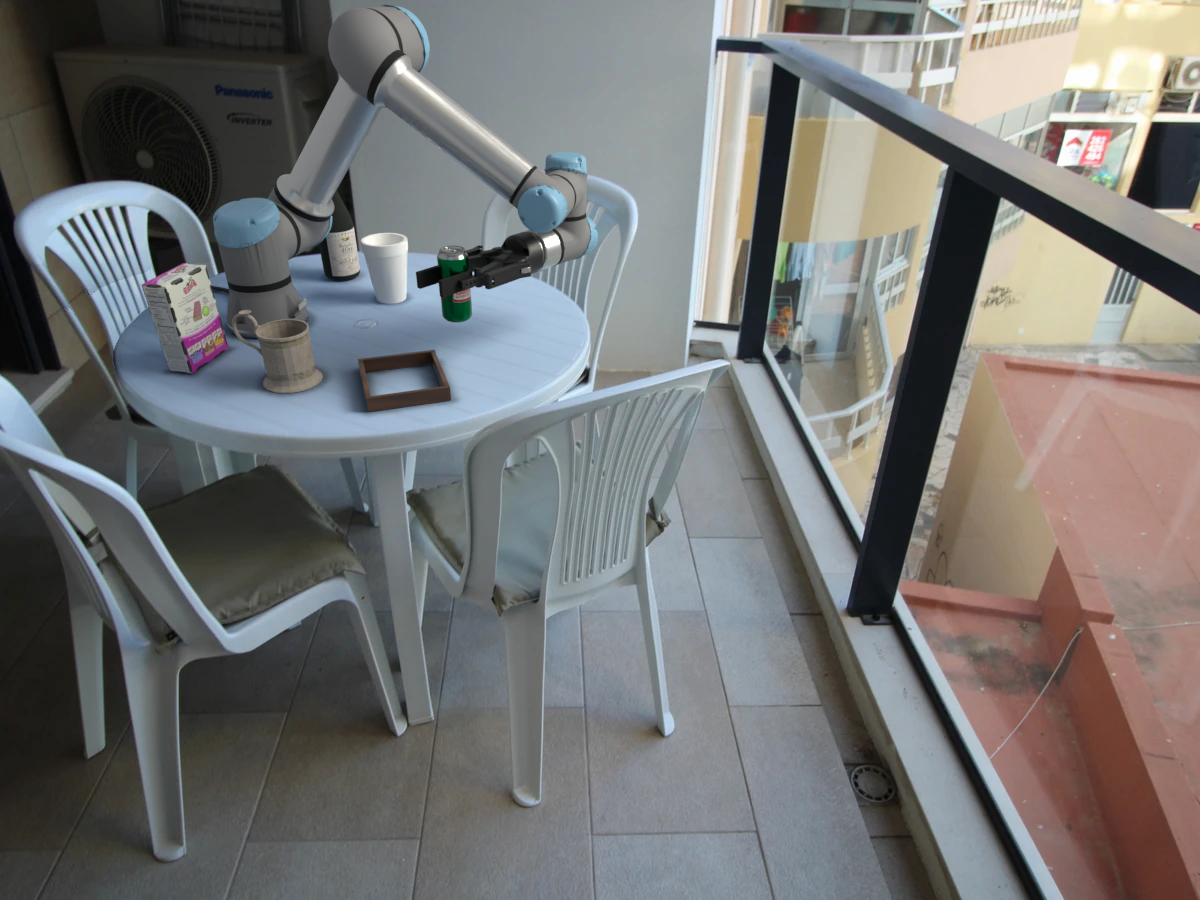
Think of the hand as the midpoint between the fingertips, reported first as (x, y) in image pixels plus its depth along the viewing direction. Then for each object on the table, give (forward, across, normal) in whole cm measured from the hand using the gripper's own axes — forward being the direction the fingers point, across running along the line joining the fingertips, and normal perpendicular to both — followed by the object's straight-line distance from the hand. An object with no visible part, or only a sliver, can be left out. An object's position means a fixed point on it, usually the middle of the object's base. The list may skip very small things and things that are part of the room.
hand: (429, 284), depth 126 cm
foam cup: (-19, +39, -18) cm, 47 cm away
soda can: (-5, 0, -8) cm, 9 cm away
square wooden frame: (+5, +4, -18) cm, 19 cm away
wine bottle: (-20, +58, -18) cm, 64 cm away
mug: (+17, +22, -18) cm, 33 cm away
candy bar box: (+24, +39, -18) cm, 49 cm away
